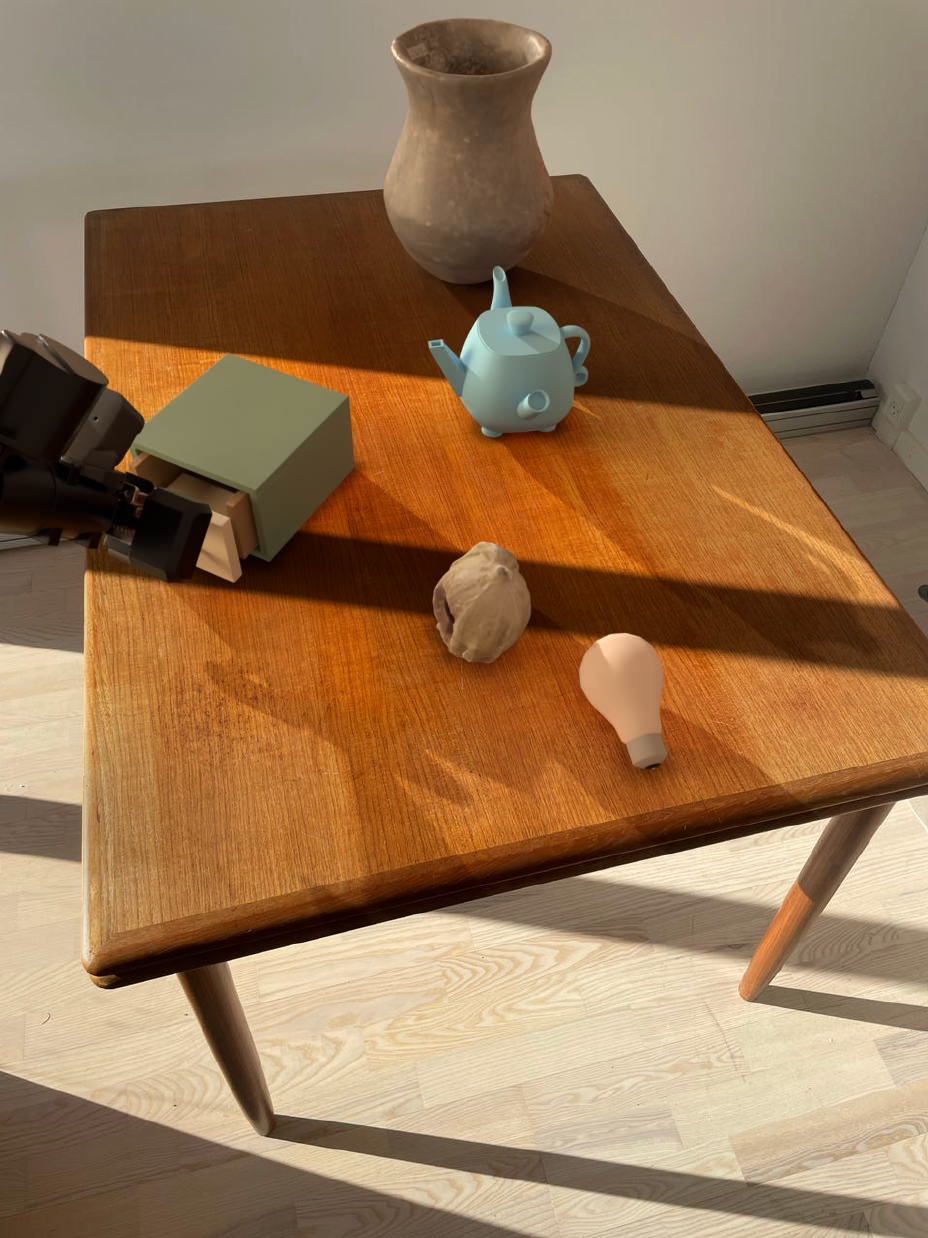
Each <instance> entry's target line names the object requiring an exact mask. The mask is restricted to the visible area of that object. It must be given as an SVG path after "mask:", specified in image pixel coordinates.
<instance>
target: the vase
mask: <svg viewBox="0 0 928 1238" xmlns="http://www.w3.org/2000/svg"><path fill="white" fill-rule="evenodd" d="M390 52H391V55H392V58H393V61H394V62H395V65H396V67H397V69H398V71H399V73H400V75H401V77H402V79H403V82H404V85H405V88H406V94H407V99H408V105H407V106H408V108H407V112H406V113H407V114H406V117H405V121H404V125H403V128H402V131H401V134H400V136H399V140H398V142H397V145H396V148H395V151H394V153H393V156H392V159H391V161H390V164H389V167H388V170H387V173H386V177H385V180H384V185H383V201H384V205H385V210H386V214H387V217H388V220H389V222H390V224H391V227H392V229H393V231H394V233H395V235H396V236H397V238H398V240H399V242H400V243H401V245H402V246H403V247H404V249H405V251H406V252H407V253H408V255H410V257H411V258H412V259H413V260H414V261H415V262H416V263H417V265H419V266H420V267H421V268H423V269H424V270H425V271H426V272H428V273H429V274H431V275H432V276H433V277H435V278H437V279H439V280H441V281H444V282H447V283H451V284H455V285H476V284H481V283H485V282H488V281H490V280H494V278H493V269H494V267H496V266H499V267H501V268H502V269H503V271H504V272H505V273H506V272H508V271H509V270H511V269H512V268H513V267H515V266H516V265H518V264H519V263H520V262H521V261H522V260H523V259H524V258H526V256H527V255H528V254H529V253H530V252H531V250H532V249H533V248H534V247H535V245H537V243H538V241H539V240H540V239H541V237H542V235H543V233H545V230H546V228H547V226H548V223H549V221H550V218H551V215H552V212H553V210H554V203H555V195H554V189H553V182H552V178H551V176H550V174H549V171H548V169H547V166H546V164H545V161H544V158H543V155H542V152H541V150H540V146H539V143H538V139H537V135H536V130H535V126H534V123H533V118H532V106H533V100H534V97H535V95H536V92H537V91H538V88H539V86H540V83H541V80H542V78H543V76H544V74H545V73H546V71H547V69H548V66H549V64H550V61H551V60H552V59H551V58H552V55H553V47H552V42H551V41H550V40H549V39H548V38H547V37H546V36H544V35H543V34H542V33H540V32H538V31H536V30H534V29H530V28H527V27H523V26H520V25H517V24H514V23H510V22H505V21H502V20H496V19H491V18H489V19H488V18H466V17H462V18H461V17H457V18H455V17H454V18H445V19H438V20H432V21H426V22H423V23H419V24H416V25H415V26H413V27H410V28H409V29H407V30H405V31H403V32H401V33H400V34H398V35H397V36H396V37H395V38H393V40H392V42H391V46H390Z"/></svg>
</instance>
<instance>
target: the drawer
mask: <svg viewBox="0 0 928 1238" xmlns="http://www.w3.org/2000/svg"><path fill="white" fill-rule="evenodd" d="M128 468H129V472H130V473H132V474H135V475H137V476H139V477H142V478H144V479H147V480H149V481H151V482H152V483H153V484H154V486H155V489H156V488H157V487H161V488H167V487H168V486H169V485H170V484H171V483H173V482H174V481H175V480H176V479H177V478H178V477H179V476H180V475H181V474H182V473H185V474H187V475H190V476H192V477H195V478H197V479H200V480H202V481H205V482H207V483H210V484H212V485H215V486H217V487H220V488H222V489H225V490H227V491H230V492H232V493H235V495H234V496H233V497H232V498H231V499H230V500H229V501H228V502H227V503H226V508H227V513H228V517H229V518H228V517H226V516H223V515H221V514H219V513H216V512H214V511H212V513H213V515H212V518H211V521H210V524H209V527H208V531H207V534H206V537H205V540H204V543H203V546H202V549H201V552H200V555H199V558H198V561H197V564H196V567H197V568H198V569H201V570H203V571H205V572H208V573H211V574H212V575H215V576H217V577H220V578H222V579H224V580H227V581H229V582H231V583H236V582H237V581H238V580H239V579H240V577H242V575H243V572H242V566H241V562H240V559H242V560H246V559H247V558H248V556H249V555H251V554H250V553H251V552H252V551H253V550H254V548H255V547H256V546H257V545H258V544H259V539H258V534H257V529H256V524H255V518H254V513H253V508H252V503H251V498H250V494H249V493H246V492H244V491H241V490H239V489H236V488H234V487H231V486H229V485H226V484H224V483H221V482H219V481H216V480H214V479H211V478H209V477H206V476H204V475H201V474H198V473H196V472H193V471H191V470H188V469H186V468H183V467H181V466H178V465H176V464H173V463H171V462H168V461H166V460H163V459H161V458H158V457H156V456H153V455H151V454H148V453H146V452H142V453H141V454H140V455H139V456H137V457H136V458H135V459H134V460H133V459H132V460H131V461H130V463H128ZM107 553H108V555H109V557H111V558H113V559H115V560H117V561H120V562H122V563H125V564H126V565H129V566H131V567H132V565H131V562H130V559H129V557H128V556H126V555H124V554H121V553H119V552H117V551H115V550H112V549H110V548H108V551H107ZM196 567H195V568H196Z"/></svg>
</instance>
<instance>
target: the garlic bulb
mask: <svg viewBox="0 0 928 1238" xmlns="http://www.w3.org/2000/svg"><path fill="white" fill-rule="evenodd" d="M530 594H531V593H530V591H529V589H528V586H527V583H526V581H525V579H524V577H523V575H521V573H520V565H519V563H518V561H517V559H516V558H515V557H514V555H513V553H512V552H511V551H510V550H508V549H507V548H505V547H503V546H501V545H499V544H496V543H494V542H487V541H480V542H478V543H477V544H475V545H474V546H472V547H471V549H470V550H468V551H467V552H466V553H465V554H464V555H463V556H461V557H460V558H458V559H456V560H454V561H453V562H452V564H451V565H450V567H449V570H448V571H447V572H445V574H444V575H443V576H442V577H441V578H440V579H439V581H438V582H437V584H436V586H435V588H434V590H433V597H432V605H433V614H434V616H435V618H436V620H437V623H436V625H435V627H436V629H437V630H438V631H439V635H440V637H441V639H442V642H443V643H444V644H445V645H446V646H447V648H448V652H449V653H450V654H452V655H453V656H454V657H457V658H458V659H459V658H460V659H464V660H465V661H467V662H469V663H484V664H491V663H494V661H496V660H497V659H498V658H499V657H500V656H501V655H502V654H504V653H505V652H506V651H508V650H509V649H510V648H511V647H512V646H514V644H516V642H517V640H519V638H520V637H521V635H522V634H523V632H524V631H525V629H526V627H527V625H528V623H529V621H530V619H531V614H532V604H531V595H530Z"/></svg>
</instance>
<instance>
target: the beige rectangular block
mask: <svg viewBox="0 0 928 1238" xmlns="http://www.w3.org/2000/svg"><path fill="white" fill-rule="evenodd" d="M166 489H170V490H173V491H176V492H179V493H182V494H185V495H187V496H189V497H192V498H194V499H197V500H199V501H202V502H204V503H207V504H209V506H210V508H211V511H214V512H216V513H219V514H221V515H223V516H226V517H228V513H227V508H226V503H227V502H228V501H229V500H230V499H231V498H232V497H233V496H234V495H235V493H232V492H230V491H227V490H225V489H222V488H220V487H217V486H215V485H212V484H210V483H207V482H205V481H202V480H200V479H197V478H195V477H192V476H190V475H187V474H185V473H182V474H181V475H180V476H179V477H178V478H177V479H176V480H175V481H174V482H173V483H171V484H170V485H169V486H168V487H167V488H166ZM228 518H229V517H228Z"/></svg>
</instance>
